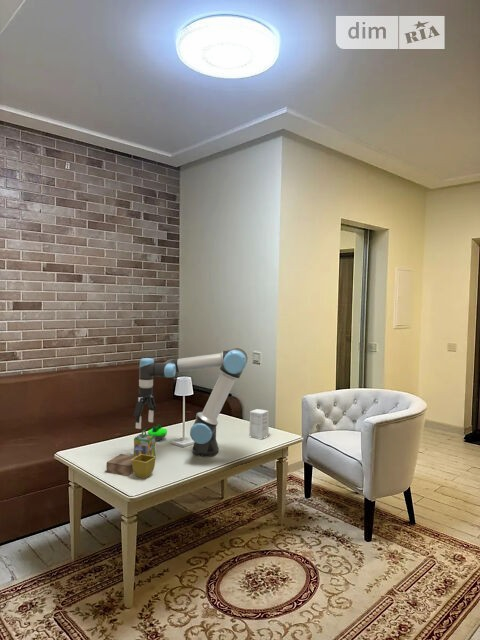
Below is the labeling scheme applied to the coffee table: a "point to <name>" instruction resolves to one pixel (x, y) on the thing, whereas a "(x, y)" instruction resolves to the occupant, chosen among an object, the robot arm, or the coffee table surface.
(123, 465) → the podium
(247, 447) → the coffee table surface
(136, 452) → the chalk box
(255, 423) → the supplement box
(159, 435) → the green moss planter
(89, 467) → the coffee table surface
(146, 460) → the flower pot
